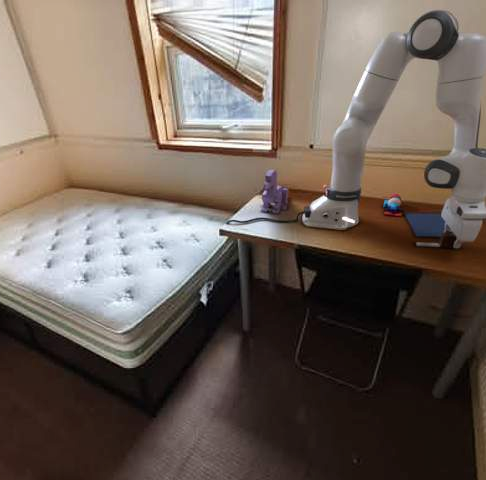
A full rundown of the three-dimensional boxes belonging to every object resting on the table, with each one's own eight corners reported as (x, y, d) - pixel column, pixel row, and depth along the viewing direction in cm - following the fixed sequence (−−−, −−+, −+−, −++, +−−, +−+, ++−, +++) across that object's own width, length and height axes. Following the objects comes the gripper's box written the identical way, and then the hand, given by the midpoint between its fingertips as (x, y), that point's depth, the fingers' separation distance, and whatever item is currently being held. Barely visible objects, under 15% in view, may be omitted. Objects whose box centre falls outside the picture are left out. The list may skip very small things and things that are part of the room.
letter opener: (457, 244, 114) (461, 232, 111) (460, 248, 112) (464, 236, 109) (415, 243, 117) (418, 231, 114) (417, 246, 115) (420, 235, 112)
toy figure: (402, 220, 135) (403, 200, 144) (404, 209, 132) (405, 190, 141) (381, 219, 138) (384, 200, 148) (382, 209, 135) (385, 190, 144)
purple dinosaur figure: (254, 214, 149) (253, 173, 138) (274, 195, 166) (275, 157, 155) (278, 218, 143) (279, 176, 133) (297, 197, 160) (299, 158, 150)
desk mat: (416, 237, 120) (417, 236, 120) (404, 214, 136) (404, 213, 136) (457, 238, 117) (457, 237, 117) (440, 214, 133) (440, 213, 132)
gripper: (443, 191, 113) (431, 227, 121) (465, 216, 97) (450, 255, 105) (464, 190, 112) (451, 227, 120) (490, 216, 96) (473, 256, 104)
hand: (451, 240), depth 112 cm, fingers open, 7 cm apart
